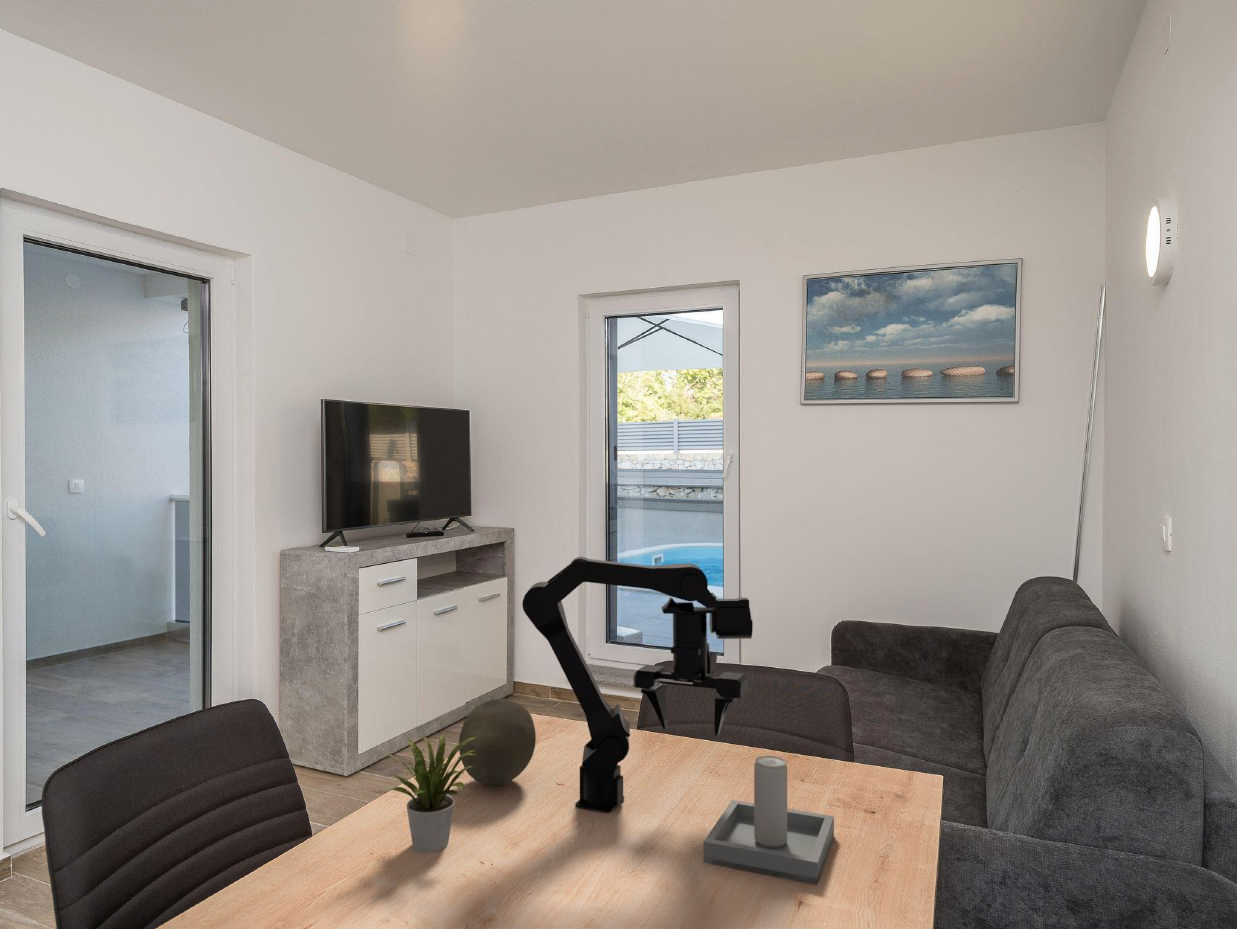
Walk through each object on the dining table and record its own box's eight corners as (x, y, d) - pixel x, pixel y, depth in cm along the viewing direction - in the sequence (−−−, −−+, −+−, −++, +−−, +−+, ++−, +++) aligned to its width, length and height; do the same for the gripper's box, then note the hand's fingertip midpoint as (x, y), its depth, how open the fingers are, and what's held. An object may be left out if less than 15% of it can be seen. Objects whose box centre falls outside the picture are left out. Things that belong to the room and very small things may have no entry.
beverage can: (793, 847, 117) (793, 765, 117) (763, 851, 116) (763, 768, 116) (777, 833, 122) (777, 754, 122) (748, 837, 120) (748, 757, 121)
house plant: (504, 831, 124) (504, 726, 124) (457, 873, 111) (458, 755, 111) (424, 818, 129) (425, 716, 129) (370, 857, 115) (371, 743, 116)
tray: (703, 862, 114) (703, 841, 114) (732, 818, 129) (732, 799, 129) (817, 885, 108) (817, 862, 108) (833, 835, 123) (833, 816, 123)
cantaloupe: (440, 787, 142) (441, 702, 142) (501, 765, 152) (501, 686, 153) (492, 808, 132) (493, 718, 133) (553, 784, 143) (554, 699, 143)
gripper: (755, 634, 139) (756, 724, 138) (655, 627, 146) (656, 712, 146) (739, 647, 128) (740, 744, 128) (631, 638, 136) (632, 730, 136)
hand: (690, 731), depth 135 cm, fingers open, 9 cm apart
